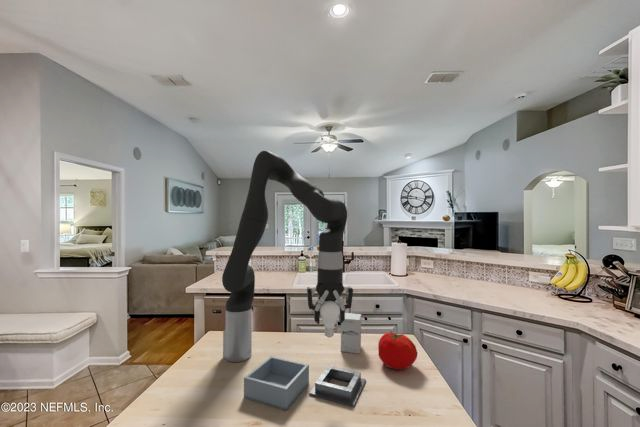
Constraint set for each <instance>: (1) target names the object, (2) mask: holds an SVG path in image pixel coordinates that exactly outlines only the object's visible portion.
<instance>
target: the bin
mask: <svg viewBox="0 0 640 427" xmlns="http://www.w3.org/2000/svg"><path fill="white" fill-rule="evenodd" d="M309 383H310V364H308V363H304V362H303V363H302V362H300V361H299V362H298V361H294V360H290V359H285V358H281V357H275V356H269V357H268V358H267V359H266V360H264V361H263V362H261V364H259V365H258V366H257V367H255V368H254V369H253V370H252V371H250V372H248V374H247V375H245V376H244V377H243V398H244V399H247V400H249V401H250V400H251V401H254V402H257V403H260V404H263V405H266V406H269V407H272V408H276V409H280V410H283V411H288V410H289V408H290V407H291V405H293V403H294V402H295V401H296V400H297V399H298V397H299V396H300V394H301V393H303V391H304V389H306V387H307V386H308V385H309Z"/></svg>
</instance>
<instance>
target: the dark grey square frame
mask: <svg viewBox="0 0 640 427" xmlns="http://www.w3.org/2000/svg"><path fill="white" fill-rule="evenodd" d="M331 379H333V380H335V381H336V380H337V381H341V382H344V383H349V384H348V385H347V386H342V385H338V384H333V383H330V381H331ZM366 382H367V379H366V378H362V372H361V371H357V370H356V371H355V370H351V369H346V368H342V367H337V366H333V365H328V366H327V367H326V368H325V369H324V371H323V372H322V373H321V375H320V376H319V377H318V379H316V381H315V383H314V386H313V387H312V389H311V390H310V392H309V393H308V394H309V396H311V397H315V398H319V399H323V400H327V401H330V402H333V403H338V404H341V405H346V406H349V407H353V408H354V407H355V406H356V404H357V401H358V399H359V396H360V395H361V393H362V390H363V388H364V386H365V384H366Z"/></svg>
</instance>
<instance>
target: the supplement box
mask: <svg viewBox="0 0 640 427" xmlns="http://www.w3.org/2000/svg"><path fill="white" fill-rule="evenodd" d="M361 346H362V314H361V313H350V312H345V320H344V321H343V323H340V352H341V353H342V352H344V353H351V354H360V352H361Z"/></svg>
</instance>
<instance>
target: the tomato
mask: <svg viewBox="0 0 640 427" xmlns="http://www.w3.org/2000/svg"><path fill="white" fill-rule="evenodd" d="M389 331H390V332H387V333H384V334H383V335H382V336H381V337H380V338H379V340H378V342H377V343H378V346H377V347H378V348H377V349H378V353H377V354H378V355H377V356H378V357H379V359H380V361H381V362H382V363H383V365H385V366H386V367H388V368H389V369H394V370H397V371H400V370H404V369H405V370H406V369H408V368H410V367H411V366H412V365H413V364H414V363H415V362H416V360H417V357H418V349H417V347H416V345H415V344H414V342H413V341H412V340H411V338H409V337H408V336H407V335H405V334H404V333H402V334H397V333H396V332H393V331H391V330H389Z"/></svg>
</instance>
